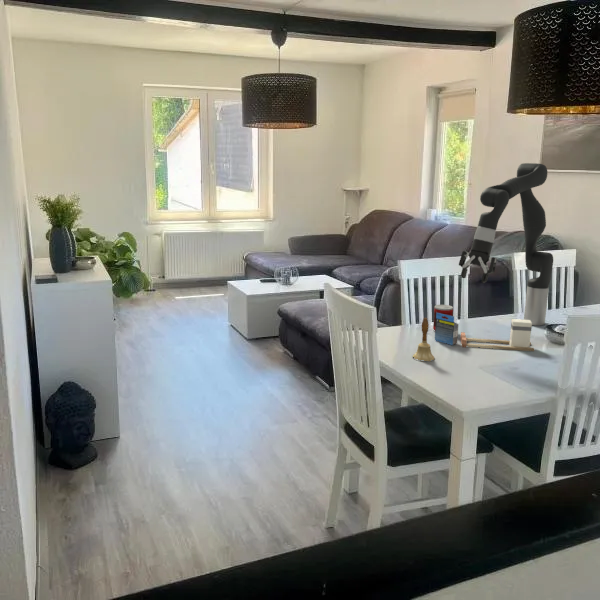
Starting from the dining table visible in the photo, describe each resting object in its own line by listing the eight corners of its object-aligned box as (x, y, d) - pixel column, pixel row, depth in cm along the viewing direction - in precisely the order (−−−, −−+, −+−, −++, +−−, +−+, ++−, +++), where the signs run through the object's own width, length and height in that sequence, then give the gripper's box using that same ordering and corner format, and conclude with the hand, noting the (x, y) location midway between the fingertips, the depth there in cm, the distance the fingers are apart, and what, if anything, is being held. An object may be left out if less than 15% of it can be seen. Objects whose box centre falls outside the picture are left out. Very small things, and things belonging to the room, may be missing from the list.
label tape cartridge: (457, 343, 247) (459, 314, 244) (452, 345, 244) (454, 316, 241) (439, 338, 253) (441, 310, 250) (433, 340, 251) (435, 312, 248)
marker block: (509, 344, 246) (511, 318, 243) (527, 345, 245) (530, 319, 242) (510, 348, 242) (513, 321, 239) (529, 349, 240) (532, 323, 238)
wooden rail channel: (460, 339, 253) (460, 332, 252) (529, 343, 247) (530, 336, 247) (461, 347, 242) (462, 340, 242) (534, 352, 237) (535, 344, 236)
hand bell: (427, 363, 224) (429, 322, 220) (408, 358, 229) (410, 317, 225) (438, 358, 230) (441, 317, 226) (420, 352, 235) (422, 313, 231)
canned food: (455, 332, 262) (456, 308, 259) (439, 334, 259) (441, 309, 256) (444, 327, 269) (446, 303, 266) (429, 329, 266) (431, 305, 263)
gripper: (504, 244, 232) (493, 285, 234) (471, 237, 241) (461, 277, 243) (496, 242, 226) (485, 283, 228) (462, 235, 235) (452, 275, 237)
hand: (473, 280), depth 235 cm, fingers open, 8 cm apart
